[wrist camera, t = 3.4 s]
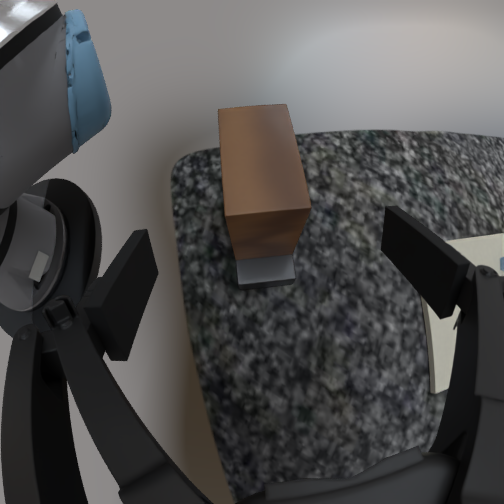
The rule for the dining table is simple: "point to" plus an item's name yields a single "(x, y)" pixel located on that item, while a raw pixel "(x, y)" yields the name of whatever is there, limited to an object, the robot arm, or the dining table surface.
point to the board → (456, 309)
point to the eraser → (262, 192)
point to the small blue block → (502, 263)
